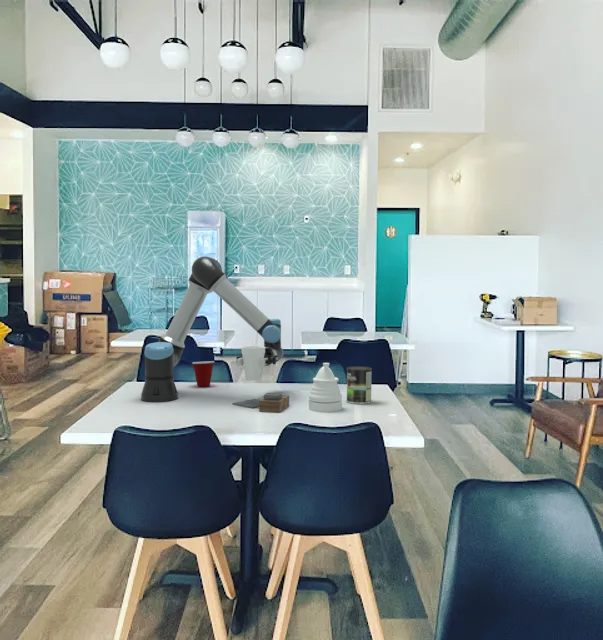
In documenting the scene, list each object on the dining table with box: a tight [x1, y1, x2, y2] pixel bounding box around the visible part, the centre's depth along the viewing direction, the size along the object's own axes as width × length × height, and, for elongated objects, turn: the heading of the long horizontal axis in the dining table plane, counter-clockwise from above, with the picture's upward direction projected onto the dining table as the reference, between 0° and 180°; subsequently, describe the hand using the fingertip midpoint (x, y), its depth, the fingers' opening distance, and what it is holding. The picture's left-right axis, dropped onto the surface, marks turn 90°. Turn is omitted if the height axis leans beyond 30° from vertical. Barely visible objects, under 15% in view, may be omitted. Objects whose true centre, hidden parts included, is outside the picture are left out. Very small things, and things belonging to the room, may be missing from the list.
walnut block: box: [258, 392, 290, 413], centre depth 238 cm, size 14×8×6 cm, turn 167°
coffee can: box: [346, 365, 373, 405], centre depth 251 cm, size 10×10×14 cm
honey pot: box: [308, 362, 343, 413], centre depth 237 cm, size 13×13×18 cm
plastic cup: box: [191, 360, 215, 388], centre depth 292 cm, size 11×11×12 cm
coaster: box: [232, 398, 261, 409], centre depth 247 cm, size 12×12×1 cm
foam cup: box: [240, 345, 265, 381], centre depth 246 cm, size 10×9×13 cm
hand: (249, 362), depth 242 cm, fingers closed on foam cup, 9 cm apart
